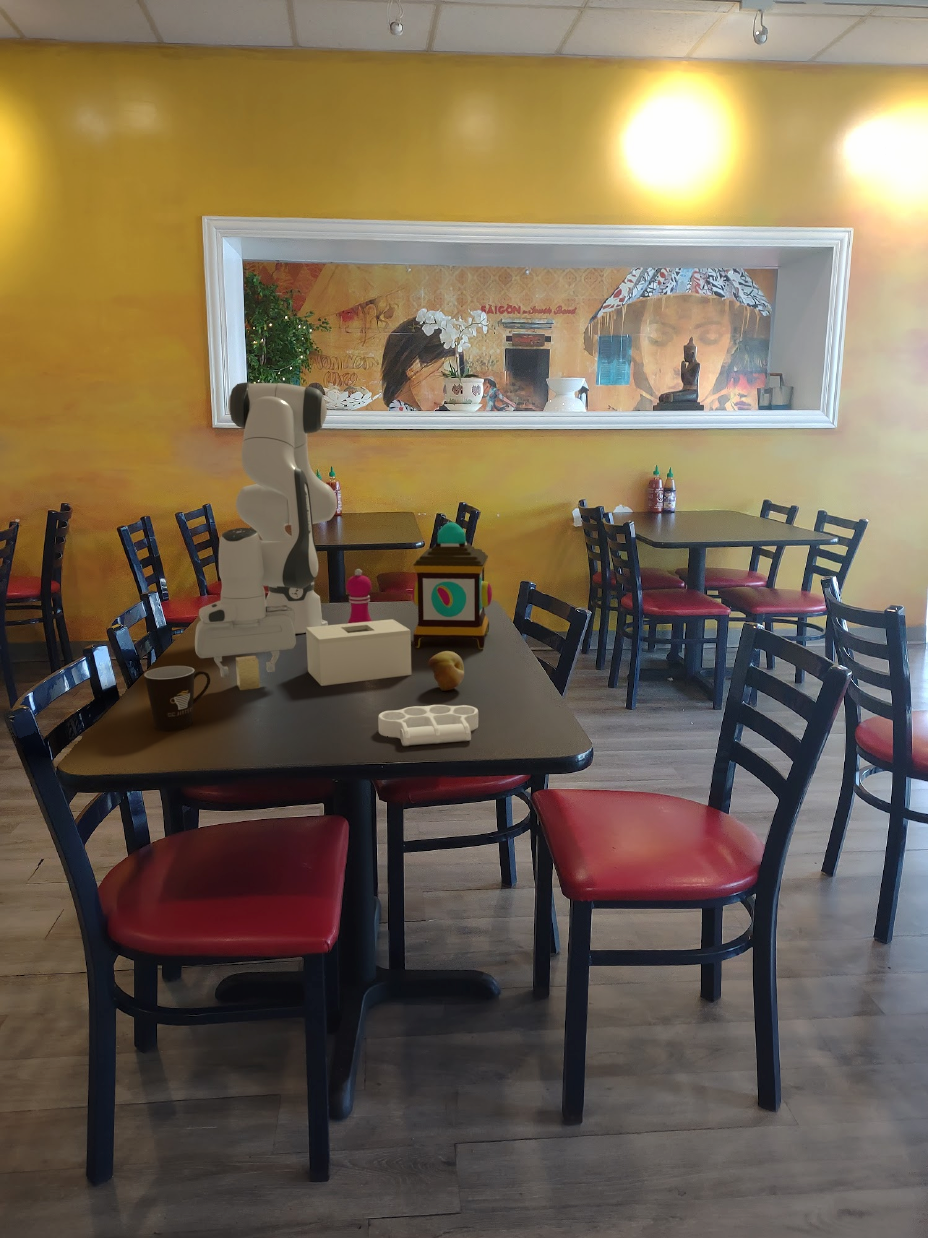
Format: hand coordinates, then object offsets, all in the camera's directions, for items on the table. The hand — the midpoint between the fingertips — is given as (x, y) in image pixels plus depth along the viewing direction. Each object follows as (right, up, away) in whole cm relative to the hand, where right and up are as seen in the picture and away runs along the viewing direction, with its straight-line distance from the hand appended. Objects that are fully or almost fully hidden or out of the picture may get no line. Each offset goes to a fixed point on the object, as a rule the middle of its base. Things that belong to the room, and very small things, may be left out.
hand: (248, 673), depth 179 cm
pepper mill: (+20, +4, +29) cm, 36 cm away
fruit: (+41, -3, -2) cm, 42 cm away
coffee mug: (-6, -8, -22) cm, 24 cm away
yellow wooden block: (0, -3, +1) cm, 3 cm away
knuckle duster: (+39, -9, -27) cm, 48 cm away
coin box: (+22, -1, +10) cm, 24 cm away
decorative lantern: (+42, +6, +38) cm, 57 cm away
